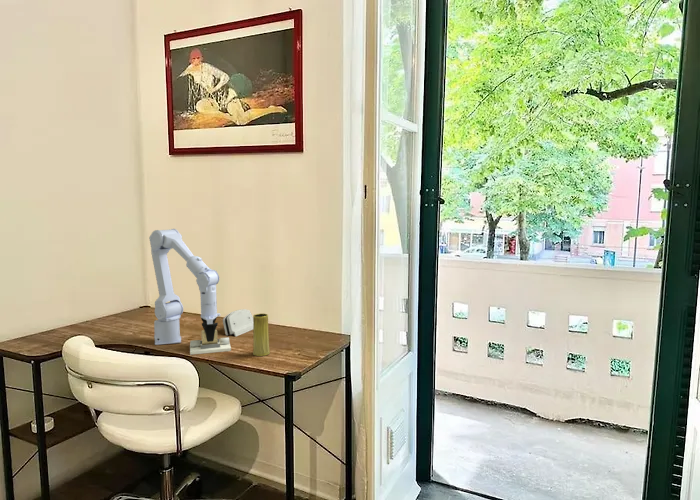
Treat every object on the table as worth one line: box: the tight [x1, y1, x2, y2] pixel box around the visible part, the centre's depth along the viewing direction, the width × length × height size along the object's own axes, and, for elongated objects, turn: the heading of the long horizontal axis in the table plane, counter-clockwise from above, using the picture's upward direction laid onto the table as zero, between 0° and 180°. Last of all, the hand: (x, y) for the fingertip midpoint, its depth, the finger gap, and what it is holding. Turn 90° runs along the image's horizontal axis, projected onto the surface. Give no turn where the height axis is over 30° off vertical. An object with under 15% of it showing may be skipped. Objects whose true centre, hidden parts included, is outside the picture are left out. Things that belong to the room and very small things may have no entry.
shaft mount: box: [189, 336, 232, 356], centre depth 187 cm, size 14×12×3 cm
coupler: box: [201, 328, 219, 345], centre depth 186 cm, size 6×4×6 cm
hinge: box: [222, 308, 253, 337], centre depth 211 cm, size 17×5×10 cm, turn 156°
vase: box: [252, 313, 271, 357], centre depth 179 cm, size 6×6×14 cm
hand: (209, 338), depth 186 cm, fingers open, 7 cm apart
